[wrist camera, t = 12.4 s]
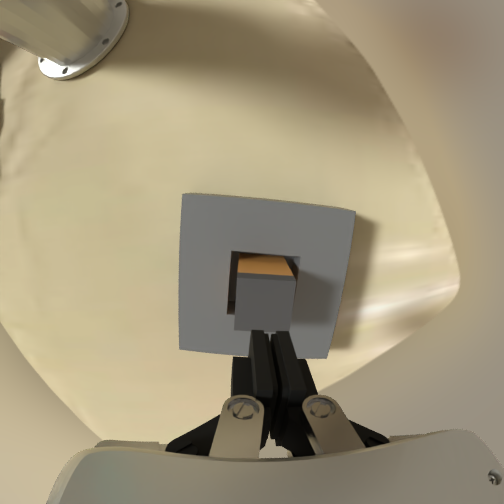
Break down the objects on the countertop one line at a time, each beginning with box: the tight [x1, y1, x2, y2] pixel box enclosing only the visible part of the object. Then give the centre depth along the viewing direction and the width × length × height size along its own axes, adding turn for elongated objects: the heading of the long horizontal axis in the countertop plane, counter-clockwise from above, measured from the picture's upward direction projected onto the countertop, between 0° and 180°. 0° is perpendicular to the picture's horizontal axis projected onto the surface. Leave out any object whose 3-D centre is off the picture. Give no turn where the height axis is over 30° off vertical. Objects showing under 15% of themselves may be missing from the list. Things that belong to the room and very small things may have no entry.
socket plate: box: [179, 193, 356, 359], centre depth 25 cm, size 14×14×4 cm
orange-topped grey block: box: [234, 253, 296, 332], centre depth 23 cm, size 4×4×7 cm
